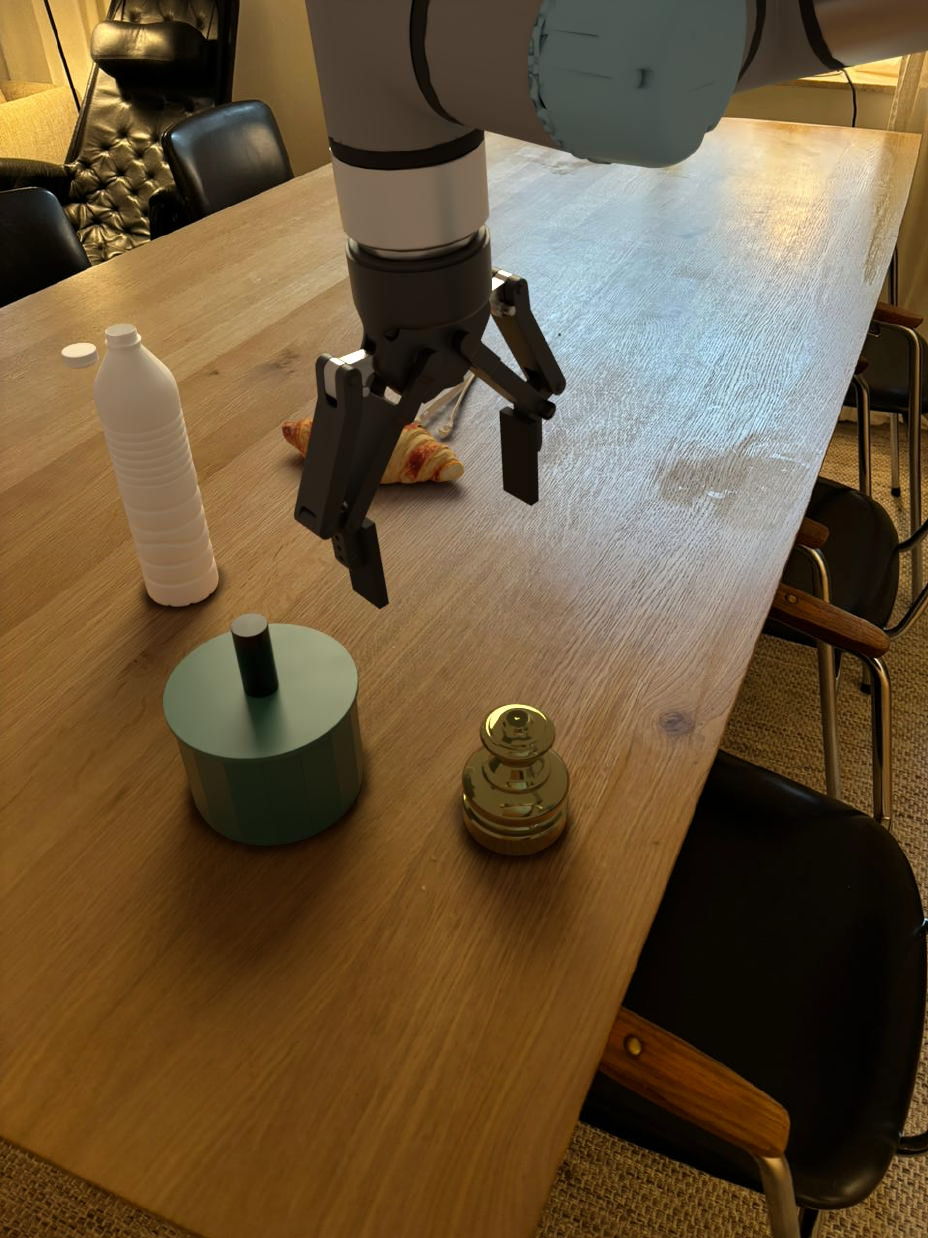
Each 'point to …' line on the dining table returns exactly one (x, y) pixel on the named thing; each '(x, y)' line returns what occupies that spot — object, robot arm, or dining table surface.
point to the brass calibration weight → (515, 782)
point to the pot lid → (260, 692)
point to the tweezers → (442, 401)
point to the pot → (280, 789)
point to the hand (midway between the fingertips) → (449, 544)
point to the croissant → (398, 454)
